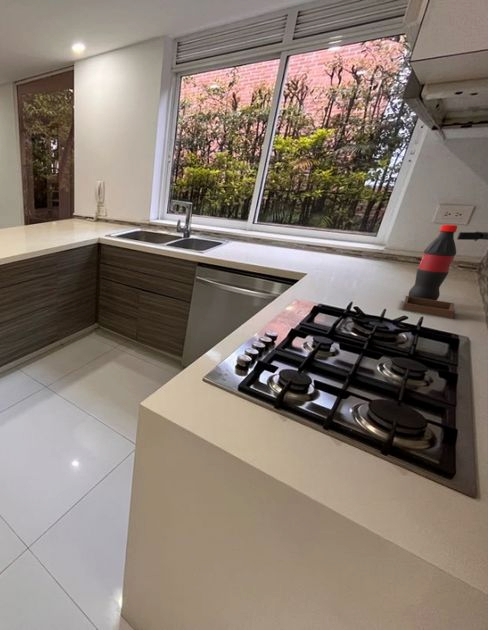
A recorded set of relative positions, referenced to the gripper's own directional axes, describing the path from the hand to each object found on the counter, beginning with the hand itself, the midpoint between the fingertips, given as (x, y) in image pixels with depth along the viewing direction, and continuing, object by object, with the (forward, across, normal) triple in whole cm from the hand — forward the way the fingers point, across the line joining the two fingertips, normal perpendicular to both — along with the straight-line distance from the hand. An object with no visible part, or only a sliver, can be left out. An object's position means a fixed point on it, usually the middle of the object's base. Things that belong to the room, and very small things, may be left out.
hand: (475, 238), depth 125 cm
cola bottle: (+10, 0, -25) cm, 27 cm away
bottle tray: (+18, -14, -25) cm, 34 cm away
